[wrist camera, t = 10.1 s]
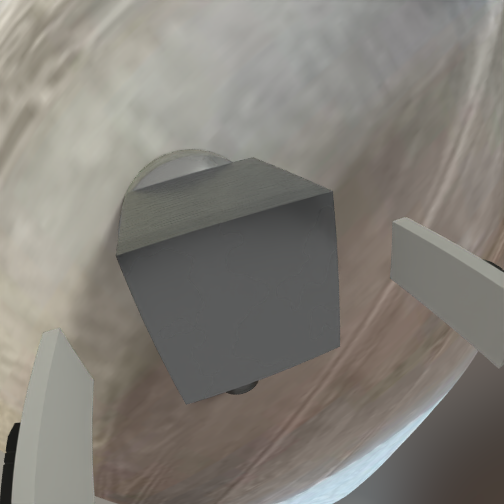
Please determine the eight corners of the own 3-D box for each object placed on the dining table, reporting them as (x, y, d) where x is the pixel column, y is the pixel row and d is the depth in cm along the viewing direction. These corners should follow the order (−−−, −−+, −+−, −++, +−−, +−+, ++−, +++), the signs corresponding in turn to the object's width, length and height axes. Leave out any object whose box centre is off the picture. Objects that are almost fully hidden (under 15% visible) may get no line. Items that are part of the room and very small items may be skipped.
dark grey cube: (164, 303, 19) (186, 404, 12) (126, 193, 16) (116, 255, 9) (272, 267, 20) (339, 346, 13) (253, 157, 17) (332, 191, 10)
